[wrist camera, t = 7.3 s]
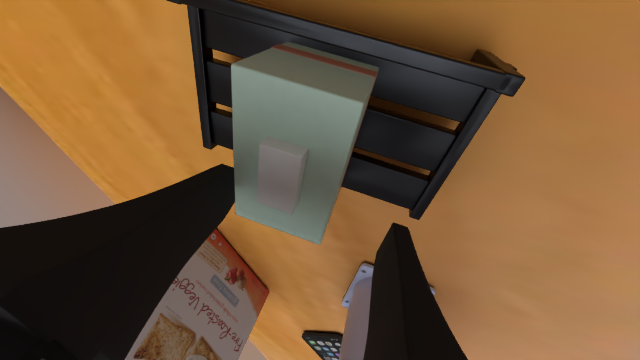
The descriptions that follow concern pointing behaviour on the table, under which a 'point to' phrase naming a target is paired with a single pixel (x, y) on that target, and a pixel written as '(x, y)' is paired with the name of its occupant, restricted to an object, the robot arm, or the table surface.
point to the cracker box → (204, 309)
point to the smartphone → (324, 344)
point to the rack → (391, 84)
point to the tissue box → (295, 134)
